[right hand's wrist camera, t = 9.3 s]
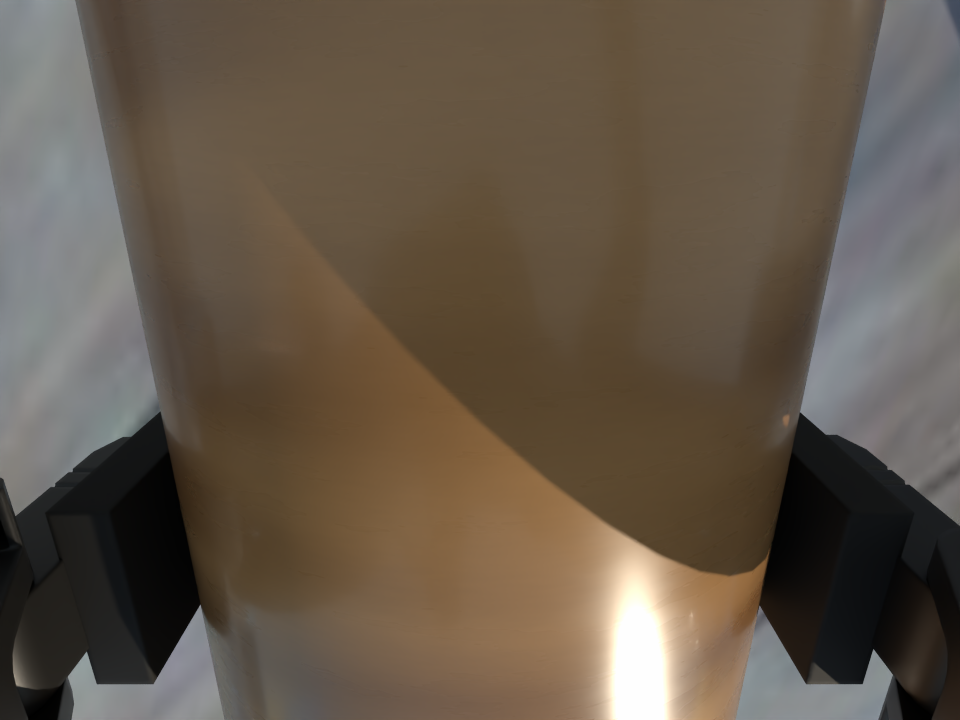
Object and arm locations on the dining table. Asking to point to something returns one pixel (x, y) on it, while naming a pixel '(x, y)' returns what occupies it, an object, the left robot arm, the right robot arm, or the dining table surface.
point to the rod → (480, 332)
